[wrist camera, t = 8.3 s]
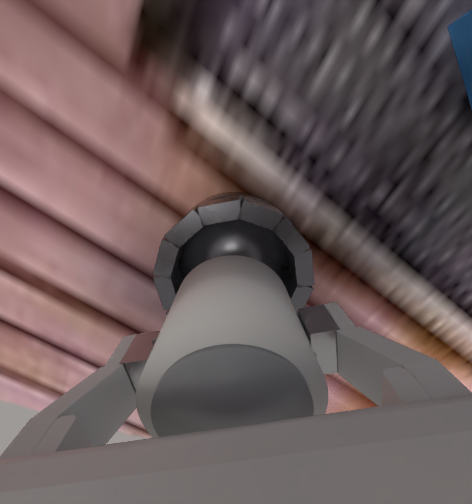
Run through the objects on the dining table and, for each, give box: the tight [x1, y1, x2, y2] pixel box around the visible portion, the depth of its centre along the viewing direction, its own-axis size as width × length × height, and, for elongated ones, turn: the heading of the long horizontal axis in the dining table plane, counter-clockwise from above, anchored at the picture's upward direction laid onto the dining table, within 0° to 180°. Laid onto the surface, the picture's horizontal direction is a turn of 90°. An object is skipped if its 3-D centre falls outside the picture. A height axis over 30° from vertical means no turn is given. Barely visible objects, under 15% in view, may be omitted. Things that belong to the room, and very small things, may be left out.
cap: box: [136, 255, 328, 438], centre depth 9 cm, size 5×5×5 cm
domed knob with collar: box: [153, 192, 314, 315], centre depth 16 cm, size 9×9×5 cm
